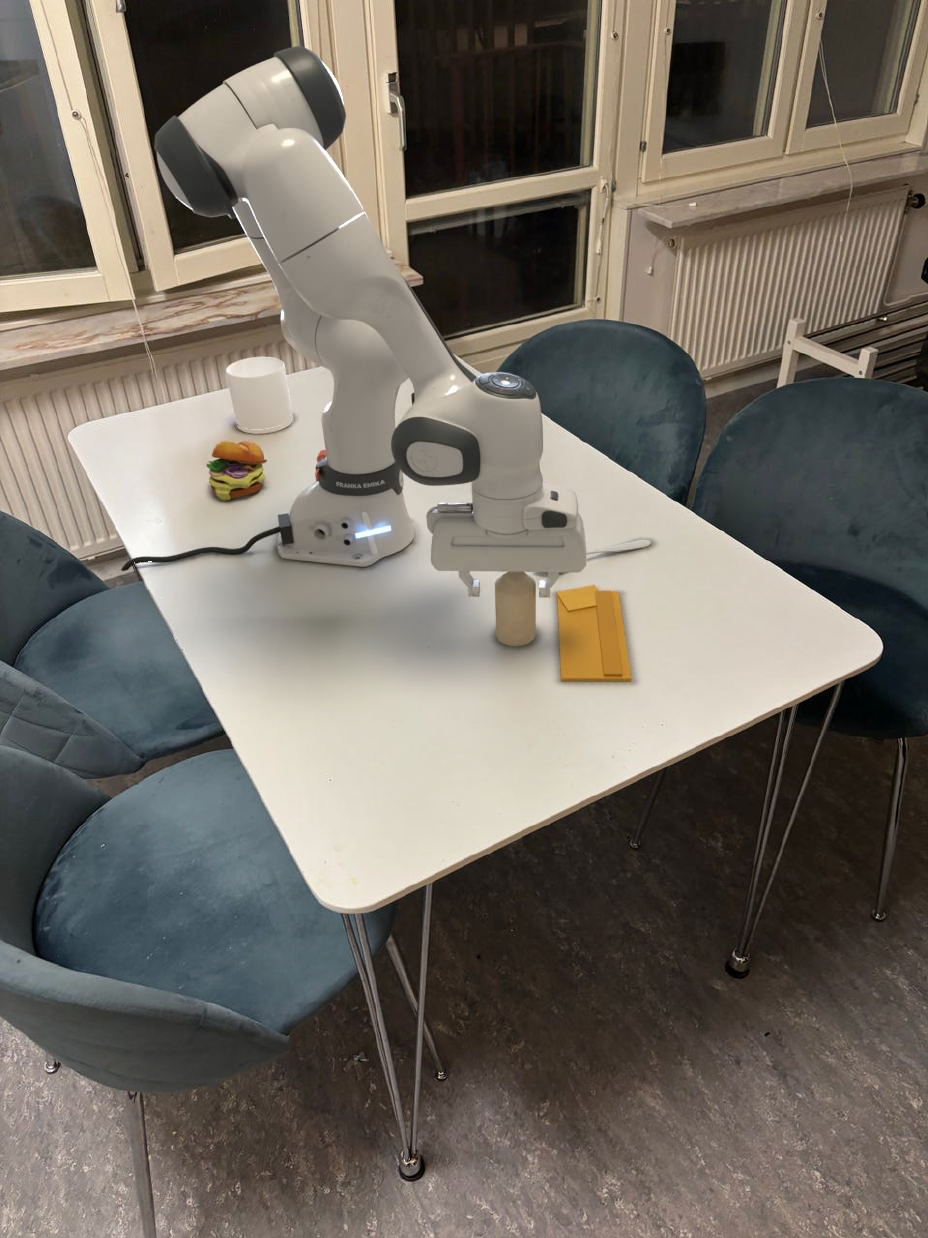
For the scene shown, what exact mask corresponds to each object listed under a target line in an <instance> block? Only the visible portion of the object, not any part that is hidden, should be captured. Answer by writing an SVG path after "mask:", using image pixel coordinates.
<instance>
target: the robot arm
mask: <svg viewBox="0 0 928 1238" xmlns="http://www.w3.org/2000/svg"><path fill="white" fill-rule="evenodd" d="M346 121H347V112H346V108H345V105H344V99H343V94H342V90H341V88H340V86H339V83H338V81H337V79H336V77H335V76H334V75H333V73H332V71H331V70H330V69H329V67H328V66H327V65H326V64H325V63H324V62H323V61H322V60H321V57H319V56H318V55H317V54H316V52H314V51H313V50H310V49H309V48H307V47H305V46H302V45H297V46H291V47H287V48H285V49H281V50H279V51H276V52H274V53H273V57H271V58H269V59H265V60H264V61H261V62H259V63H255V64H254V65H252V66H250V67H247V68H245V69H243V70H241V71H240V72H239V71H238V73H235V74H234V75H231V76H230V77H228V78H227V79H225V80H223V81H222V84H221V85H219V86H217V87H216V88H214V89H213V90H211V91H210V92H208V93H206V94H205V95H204V96H202V97H201V98H199V100H196V102H194V103H193V104H192V105H190V106H189V107H188V108H187V109H186V110H185V111H183V112H182V113H181V114H180V115H178V116H177V115H173V116H171V117H170V119H168V120H167V121H166V122H165V123H164V124H163V125H162V126H161V127H160V128H159V130H158V131H157V132H156V133H155V135H154V145H153V146H154V147H153V149H154V151H155V152H156V159H157V164H158V168H159V171H160V174H161V176H162V178H163V181H164V182H165V184H166V186H167V187H168V189H169V190H170V192H171V193H172V194H173V195H174V197H175V198H176V199H177V200H178V201H179V202H181V203H182V204H183V205H185V206H186V207H187V208H189V209H190V210H192V212H193V213H194V214H197V215H199V216H204V217H207V218H216V217H220V216H228V217H229V219H237V220H238V221H239V224H240V226H241V227H242V229H243V231H244V233H245V235H246V236H247V238H248V240H249V242H250V243H251V245H252V247H253V248H254V250H255V252H256V254H257V255H258V258H259V259H260V261H261V263H262V265H263V267H264V268H265V270H266V272H267V274H268V276H269V277H270V279H271V281H272V284H273V286H274V288H275V291H276V293H277V296H278V299H279V303H280V306H281V314H280V329H281V332H282V335H283V337H284V339H285V341H286V342H287V343H288V344H289V346H291V347H292V348H293V349H294V350H295V352H297V353H298V354H299V355H301V356H302V357H303V358H304V359H305V360H307V361H309V362H311V363H313V364H316V365H317V366H320V367H322V368H324V369H327V370H328V371H329V372H330V374H331V376H332V379H333V394H332V400H331V401H330V402H329V403H328V404H326V406H325V407H324V408H323V410H322V413H321V418H320V420H321V427H322V434H323V443H324V449H321V450H320V451H319V452H318V455H317V457H316V465H315V472H314V476H315V481H314V482H313V483H312V484H311V485H309V486H308V487H307V488H305V489H304V490H302V491H301V492H300V493H299V494H298V495H297V497H296V498H295V499H294V501H293V504H292V505H291V507H290V511H289V512H287V513H279V514H277V522H278V526H276V527H273V528H271V529H268V530H267V529H266V530H264V531H263V532H260V533H258V534H256V535H254V536H253V537H251V538H250V539H249V540H248V541H247V543H246V544H245V545H244V546H242V547H239V548H229V547H222V546H220V547H219V546H206V547H200V548H195V549H192V550H188V551H184V552H181V553H177V554H173V555H168V556H147V555H145V556H137V557H133V558H131V559H132V560H131V559H129V560H128V561H126V563H124V565H122V567H121V569H120V571H121V572H126V571H128V570H129V569H130V568H132V567H133V566H134V565H137V564H141V563H143V564H144V563H149V562H148V561H152V562H151V563H155V564H164V563H165V564H166V563H172V562H176V561H181V560H185V559H188V558H191V557H195V556H199V555H204V554H214V553H215V554H223V555H242V554H244V553H246V552H249V550H250V549H251V548H252V547H253V546H254V545H255V544H256V543H257V542H259V541H261V540H263V539H265V538H268V537H270V536H273V535H276V534H278V536H277V542H276V544H277V547H276V548H277V552H278V555H279V557H280V558H282V559H283V560H284V559H285V560H292V561H293V560H294V561H302V562H310V563H311V562H312V563H322V564H330V565H331V564H332V565H341V566H349V567H350V566H351V567H360V568H366V567H370V566H371V565H373V564H375V563H376V562H378V561H379V560H381V559H383V558H385V557H387V556H391V555H394V554H396V553H398V552H400V551H402V550H403V549H405V548H407V547H408V546H409V545H410V544H411V543H412V541H413V540H414V538H415V536H416V530H415V528H414V525H413V523H412V520H411V518H410V515H409V511H408V508H407V505H406V500H405V496H404V485H405V483H404V475H405V476H406V477H407V478H409V479H410V480H412V481H414V482H415V483H417V484H420V485H424V486H430V487H431V486H432V487H435V486H436V487H439V486H440V487H441V486H455V485H465V484H468V483H471V484H470V485H471V502H458V503H456V502H455V503H448V502H439V503H437V505H435V506H433V507H431V508H429V509H428V511H427V512H426V516H425V517H426V527H427V529H428V531H429V533H431V534H432V537H431V544H430V545H431V546H430V564H431V566H432V567H433V568H434V569H435V570H436V571H438V572H458V577H459V579H460V580H461V582H463V584H464V585H465V586H466V587H467V595H468V597H471V598H472V597H473V598H475V597H476V598H479V597H480V595H481V586H480V585H481V581H480V579H475V578H474V577H473V576H472V575H471V572H498V573H499V572H501V573H503V572H505V573H507V572H525V573H547V577H546V579H544V580H539V581H538V582H539V583H538V584H539V585H538V598H541V599H542V598H544V599H545V598H548V599H549V598H551V589H552V587H553V586H554V585H555V583H556V582H557V581H558V580H559V577H560V576H559V575H560V574H559V573H581V572H582V571H584V570H585V568H586V567H587V555H586V551H587V541H586V531H585V525H584V520H583V518H582V516H581V515H580V513H579V502H578V496H577V494H576V492H575V491H574V490H572V489H569V488H566V487H562V486H559V485H556V484H553V483H550V482H547V481H544V479H543V475H542V471H541V460H542V456H543V453H544V424H543V414H542V407H541V400H540V398H539V397H540V396H539V394H538V392H537V390H536V388H535V387H534V386H533V384H531V382H529V381H527V379H524V378H523V377H521V376H519V375H515V374H513V373H511V372H503V371H493V372H486V373H482V374H480V375H477V376H476V375H475V373H473V372H472V371H470V370H469V369H468V368H467V367H466V366H465V365H464V364H462V362H461V361H460V360H459V359H458V358H457V357H456V356H455V354H454V353H453V352H452V350H451V349H450V346H449V345H448V343H447V342H446V340H445V339H444V337H443V336H442V334H441V332H440V330H438V328H437V326H436V325H435V323H434V321H433V319H432V318H431V316H430V314H429V313H428V311H427V310H426V309H425V307H424V306H423V303H422V302H421V300H420V299H419V297H418V296H417V294H416V293H415V291H414V289H413V288H412V287H411V285H410V284H409V282H408V281H407V280H406V279H405V277H404V276H403V274H402V273H401V271H400V270H399V268H398V267H397V265H396V264H395V262H394V261H393V259H392V258H391V256H390V255H389V253H388V251H387V249H386V247H385V245H384V244H383V242H382V240H381V239H380V237H379V236H378V233H377V232H376V230H375V227H374V226H373V223H371V220H370V219H369V217H368V215H367V213H366V212H365V210H364V208H363V206H362V204H361V202H360V200H359V198H358V197H357V196H356V194H355V192H354V190H353V189H352V187H351V185H350V184H349V182H348V181H347V179H346V178H345V176H344V174H343V173H342V172H341V170H340V168H339V167H338V166H337V165H336V163H335V162H334V160H333V159H332V157H331V156H330V155H329V154H328V152H327V150H329V148H331V146H332V145H333V144H334V143H336V141H337V140H338V139H339V138H340V136H341V135H342V134H343V133H344V129H345V126H346ZM408 379H409V380H410V382H411V385H412V388H413V393H414V395H415V399H414V403H413V405H412V404H411V406H410V407H409V408H408V409H407V410H406V412H405V413H404V415H403V416H402V418H401V419H400V421H399V422H398V424H397V425H396V402H397V397H398V393H399V390H400V387H401V385H403V384H404V383H405V382H406V381H407V380H408ZM134 562H135V564H134ZM140 562H141V563H140Z"/></svg>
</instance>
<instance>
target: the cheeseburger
mask: <svg viewBox="0 0 928 1238" xmlns="http://www.w3.org/2000/svg"><path fill="white" fill-rule="evenodd" d="M211 457H212V458H215V459H214V460H209V461H208V463H206V468H208V469H209V470H208V474H209V478H208V483H209V485H210V488H211V491H212V492H213V494H214V495H216V496H217V498H218V499H219V500H221V501H225V502H226V501H230V500H231V499H236V498H241V497H244V496H248V495H251V494H253V493H257V492H259V491H260V490H261V489H262V488H263V484H264V480H265V478H266V476H265V474H264V469H265V467H264V465H263V464H266V463H267V462H268V459H265V455H264V451H263V450H262V448H261V447H260V445H258V443H256V442H251V441H241V442H238V443H237V442H235V441H228V440H225V441H220V442H219V443H217V444H216V446H215V447H214V448H213V449H212V453H211Z"/></svg>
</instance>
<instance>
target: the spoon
mask: <svg viewBox="0 0 928 1238" xmlns="http://www.w3.org/2000/svg"><path fill="white" fill-rule="evenodd" d="M651 543H652V542H651V540H649V539H637V540H634V541H629V542H624V543H620V544H616V545H611V546H606V547H600V548H596V549H590V550H586V556H588V555H593V554H600V553H615V552H627V551H632V550H638V549H643V548H647V547H649V546H650V545H651Z"/></svg>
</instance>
